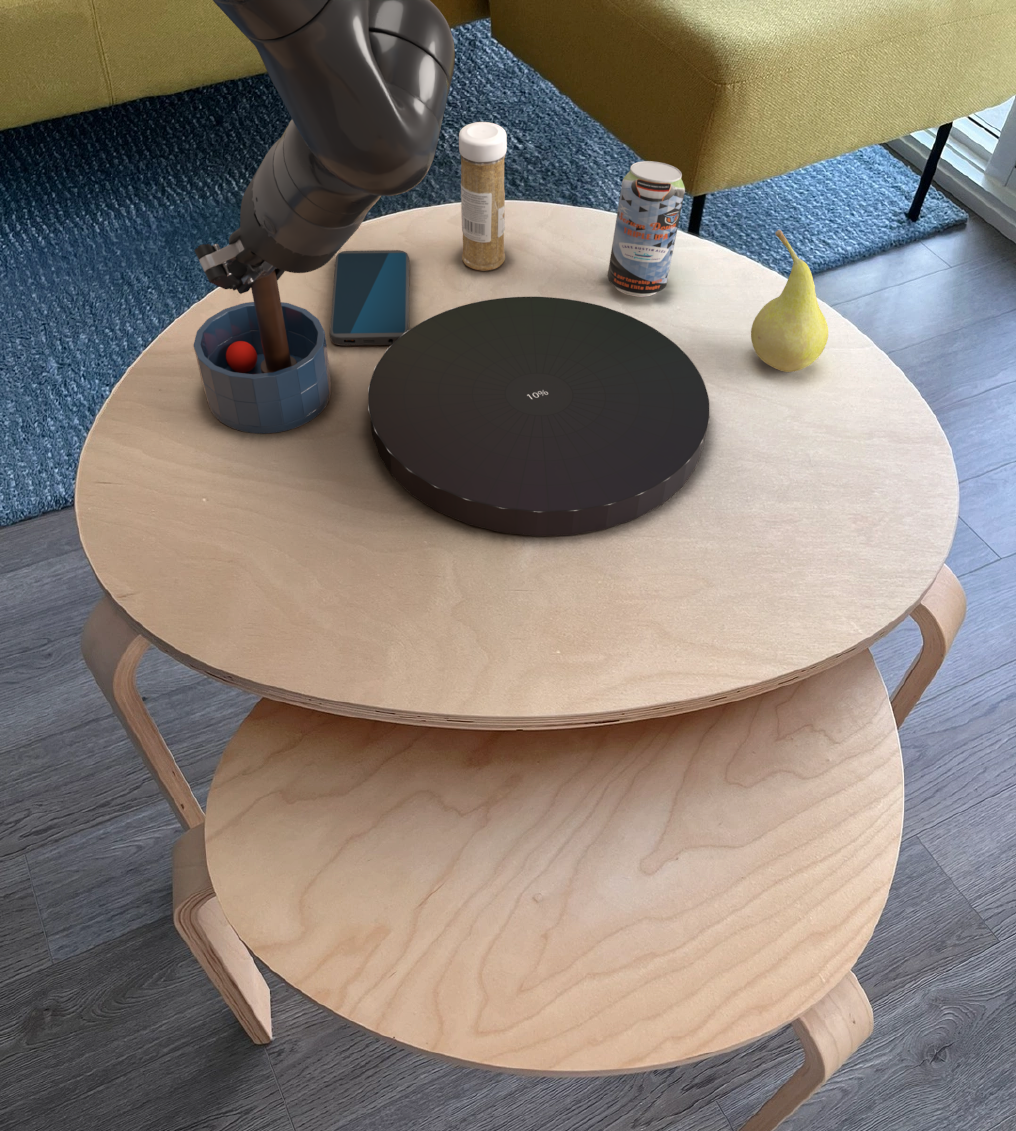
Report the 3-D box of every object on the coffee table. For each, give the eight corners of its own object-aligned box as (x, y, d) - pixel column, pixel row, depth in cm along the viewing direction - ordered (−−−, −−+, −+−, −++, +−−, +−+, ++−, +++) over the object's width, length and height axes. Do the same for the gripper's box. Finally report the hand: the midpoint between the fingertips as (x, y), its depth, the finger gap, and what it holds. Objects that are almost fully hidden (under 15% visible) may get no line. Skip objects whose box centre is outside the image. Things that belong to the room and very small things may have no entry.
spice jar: (513, 261, 117) (516, 131, 106) (481, 277, 115) (481, 147, 104) (483, 243, 119) (483, 114, 108) (451, 259, 117) (448, 130, 106)
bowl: (284, 449, 98) (274, 393, 93) (181, 407, 101) (166, 351, 96) (355, 380, 104) (349, 324, 99) (256, 343, 107) (245, 287, 103)
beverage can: (600, 299, 113) (610, 184, 103) (617, 261, 117) (629, 147, 108) (661, 311, 112) (677, 196, 102) (676, 272, 116) (693, 158, 107)
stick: (284, 387, 98) (260, 256, 88) (254, 376, 99) (228, 245, 89) (305, 367, 100) (284, 237, 90) (275, 357, 101) (252, 227, 91)
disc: (565, 287, 114) (567, 260, 112) (774, 446, 99) (781, 419, 97) (308, 394, 103) (304, 366, 100) (501, 591, 88) (501, 565, 86)
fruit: (784, 396, 104) (815, 280, 94) (726, 357, 107) (749, 241, 98) (832, 368, 106) (866, 253, 97) (773, 331, 110) (801, 216, 101)
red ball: (257, 370, 101) (229, 379, 102) (265, 363, 104) (237, 372, 104) (245, 340, 100) (217, 349, 101) (253, 334, 103) (225, 343, 103)
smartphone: (329, 345, 107) (328, 337, 106) (336, 257, 116) (335, 249, 116) (409, 344, 107) (408, 336, 107) (409, 257, 117) (409, 248, 116)
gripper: (368, 119, 80) (304, 207, 96) (191, 175, 75) (154, 258, 91) (413, 222, 82) (342, 292, 97) (242, 283, 77) (197, 347, 92)
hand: (252, 275), depth 94 cm, fingers closed on stick, 2 cm apart
